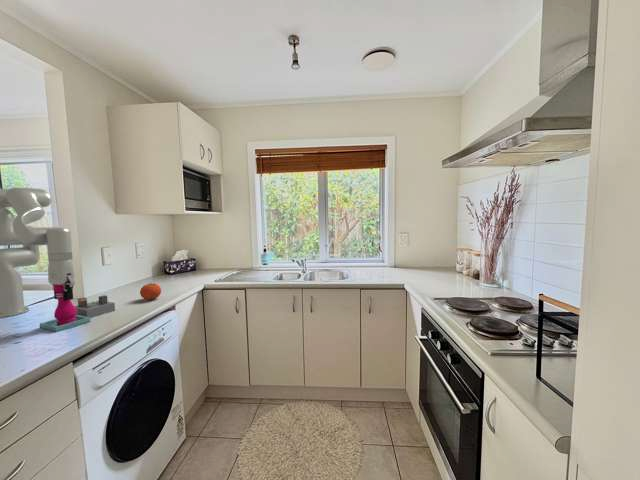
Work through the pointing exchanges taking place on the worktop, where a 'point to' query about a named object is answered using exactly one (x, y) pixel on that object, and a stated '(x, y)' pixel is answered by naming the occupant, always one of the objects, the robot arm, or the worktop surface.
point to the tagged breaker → (82, 302)
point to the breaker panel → (95, 309)
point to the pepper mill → (64, 307)
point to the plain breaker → (103, 299)
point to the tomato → (150, 291)
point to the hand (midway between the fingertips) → (63, 298)
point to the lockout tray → (53, 324)
